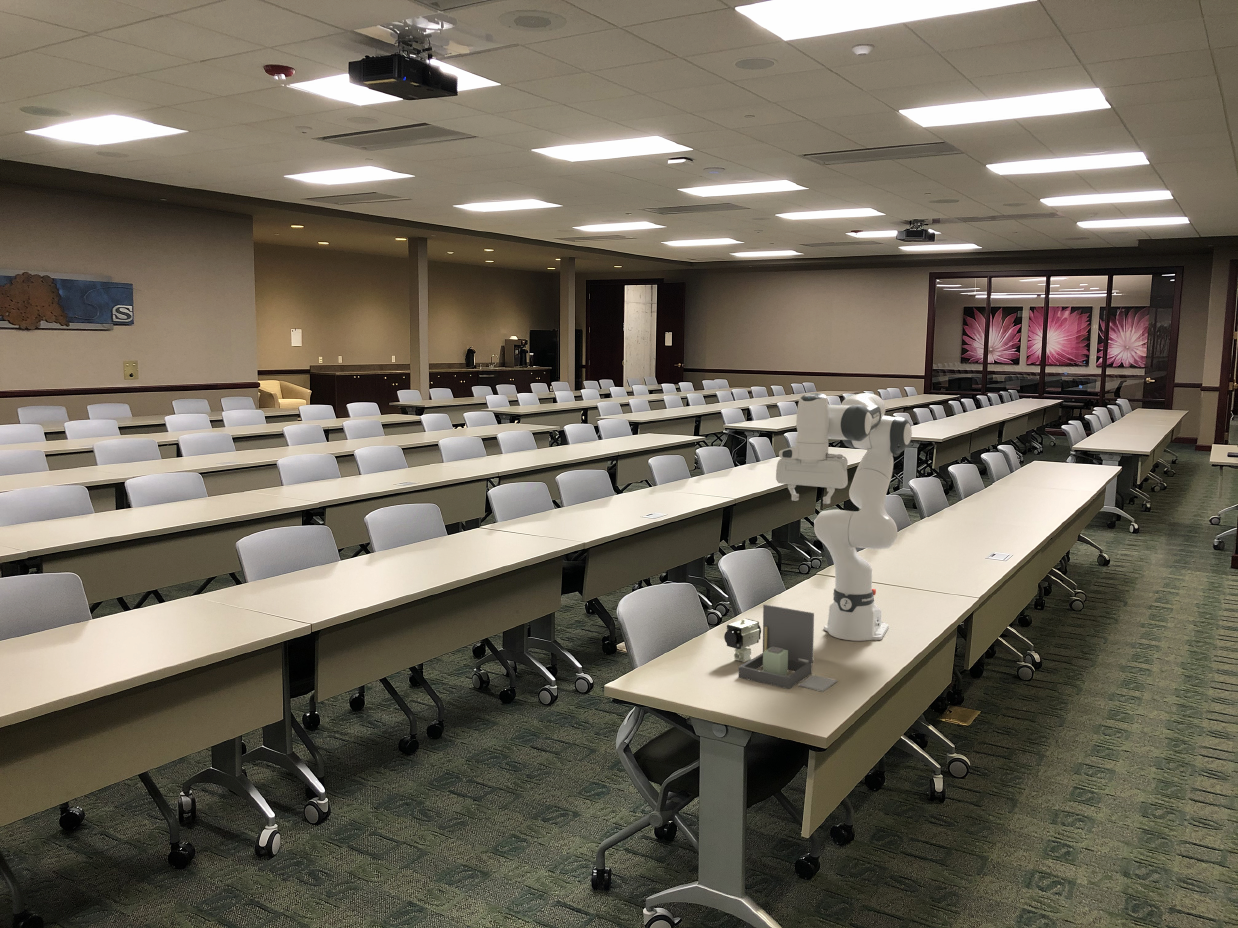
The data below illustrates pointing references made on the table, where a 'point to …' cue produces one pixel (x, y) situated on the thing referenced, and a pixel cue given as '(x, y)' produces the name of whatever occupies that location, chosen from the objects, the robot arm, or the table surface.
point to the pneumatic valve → (742, 637)
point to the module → (776, 661)
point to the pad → (817, 683)
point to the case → (784, 646)
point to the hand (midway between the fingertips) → (810, 501)
